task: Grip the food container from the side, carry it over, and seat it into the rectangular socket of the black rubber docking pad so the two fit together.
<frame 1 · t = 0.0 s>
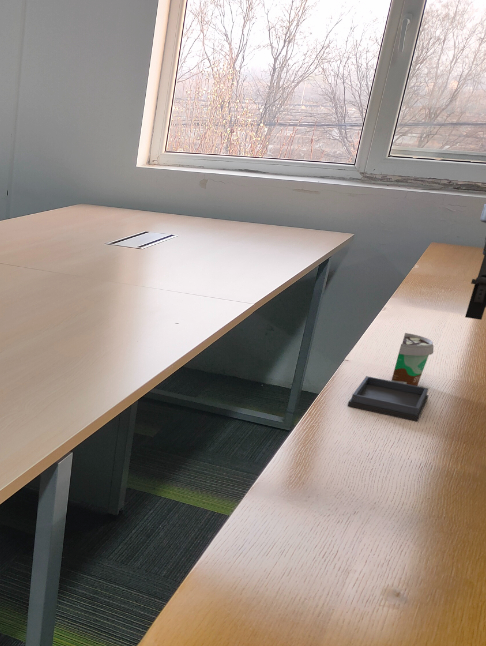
hand: (475, 312, 160), 19 cm above the table, tool pointing down, fingers open, 13 cm apart
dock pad: (388, 402, 164), on the table
food container: (407, 385, 176), on the table
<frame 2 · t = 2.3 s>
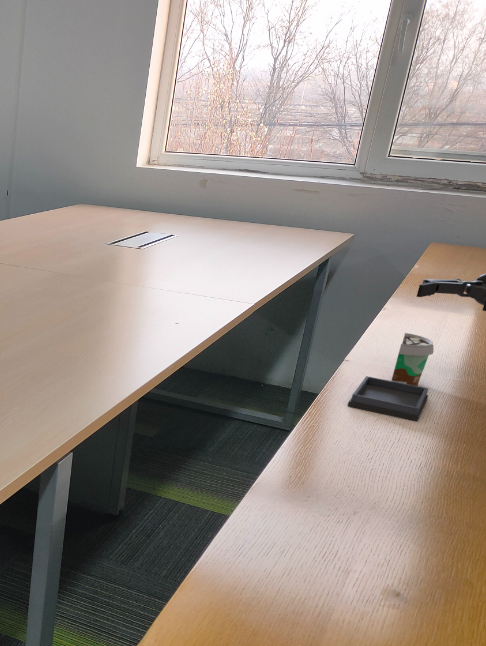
hand: (451, 297, 174), 18 cm above the table, tool horizontal, fingers open, 13 cm apart
nothing on the table moved.
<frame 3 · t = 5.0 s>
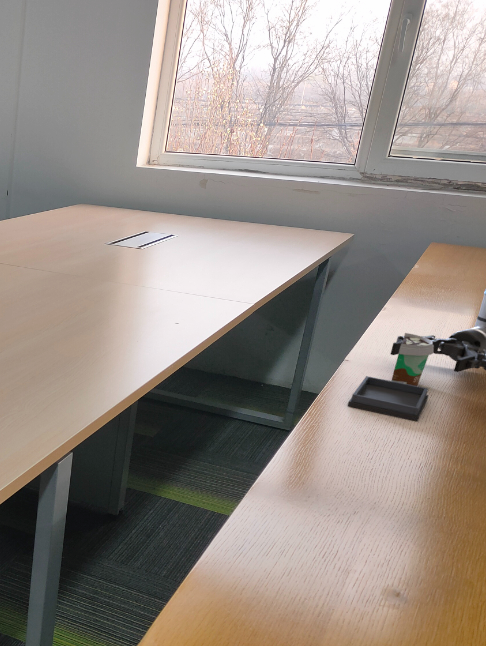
hand: (424, 357, 176), 6 cm above the table, tool horizontal, fingers open, 13 cm apart
nothing on the table moved.
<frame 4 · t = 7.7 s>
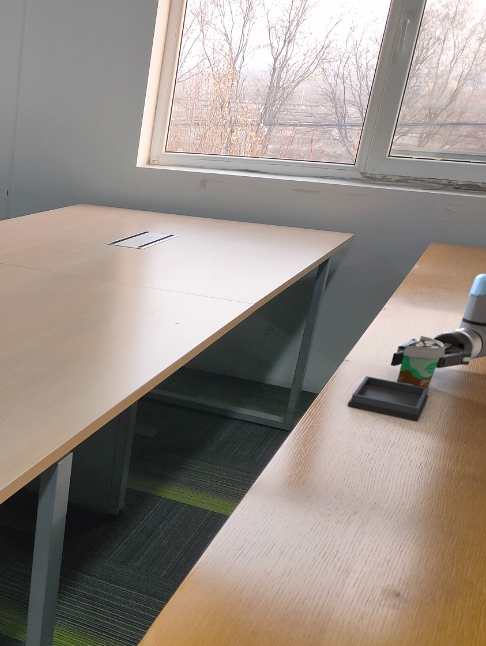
hand: (400, 361, 171), 6 cm above the table, tool horizontal, fingers closed on food container, 2 cm apart
food container: (416, 388, 174), on the table, touching gripper
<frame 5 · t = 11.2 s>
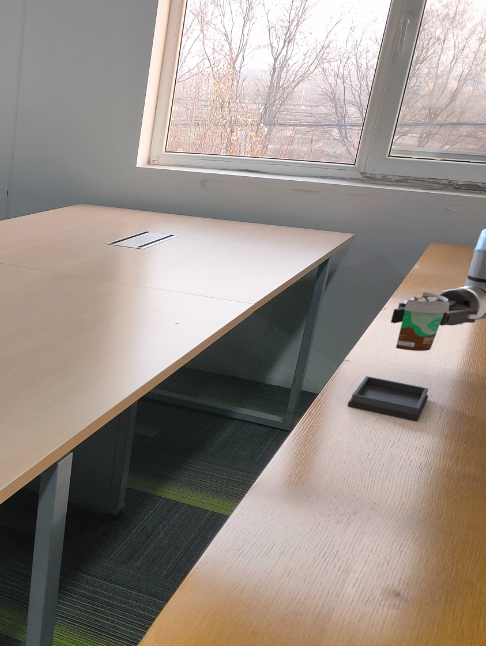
hand: (401, 317, 158), 18 cm above the table, tool horizontal, fingers closed on food container, 2 cm apart
food container: (419, 348, 161), point 11 cm above the table, touching gripper
when the fingers open (7 cm above the table, at t = 14.8 s): food container stays where it is, resting on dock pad.
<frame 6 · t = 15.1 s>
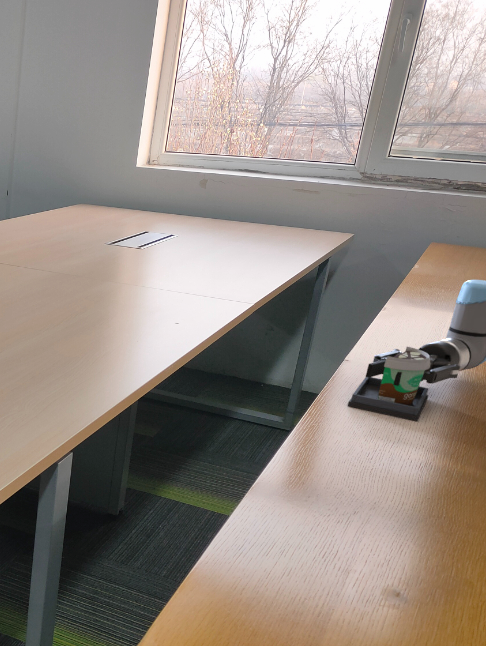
hand: (382, 374, 159), 7 cm above the table, tool horizontal, fingers open, 5 cm apart
food container: (400, 403, 162), point 1 cm above the table, touching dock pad
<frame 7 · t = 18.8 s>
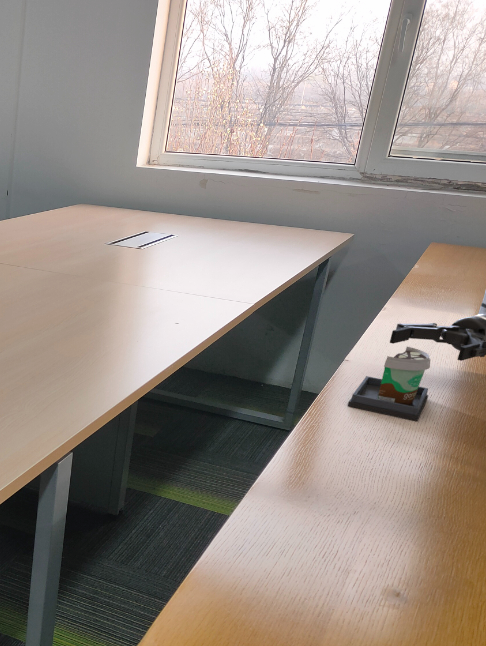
hand: (425, 345, 165), 11 cm above the table, tool horizontal, fingers open, 13 cm apart
nothing on the table moved.
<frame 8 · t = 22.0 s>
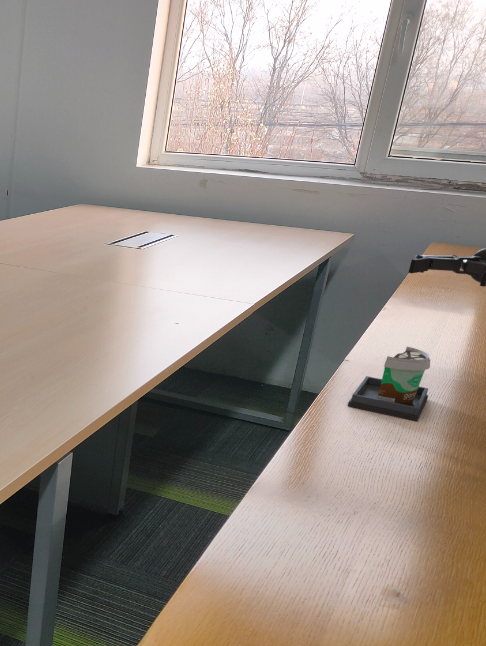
hand: (446, 272, 159), 26 cm above the table, tool horizontal, fingers open, 13 cm apart
nothing on the table moved.
at the end: food container 2.6 cm off-centre on the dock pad, point 0.8 cm above the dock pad's base; food container tilted 0°; the gripper is holding nothing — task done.
